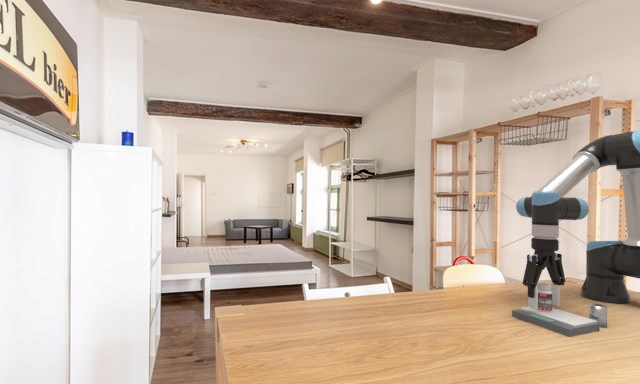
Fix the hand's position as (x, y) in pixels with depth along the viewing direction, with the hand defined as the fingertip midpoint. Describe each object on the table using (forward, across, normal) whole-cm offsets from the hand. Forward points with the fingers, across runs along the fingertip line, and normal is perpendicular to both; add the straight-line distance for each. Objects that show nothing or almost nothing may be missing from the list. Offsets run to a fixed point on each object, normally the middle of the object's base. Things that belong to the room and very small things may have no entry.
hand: (544, 306), depth 113 cm
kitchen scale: (+4, +2, +4) cm, 6 cm away
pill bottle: (+2, 0, 0) cm, 2 cm away
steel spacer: (+4, -10, +10) cm, 15 cm away
